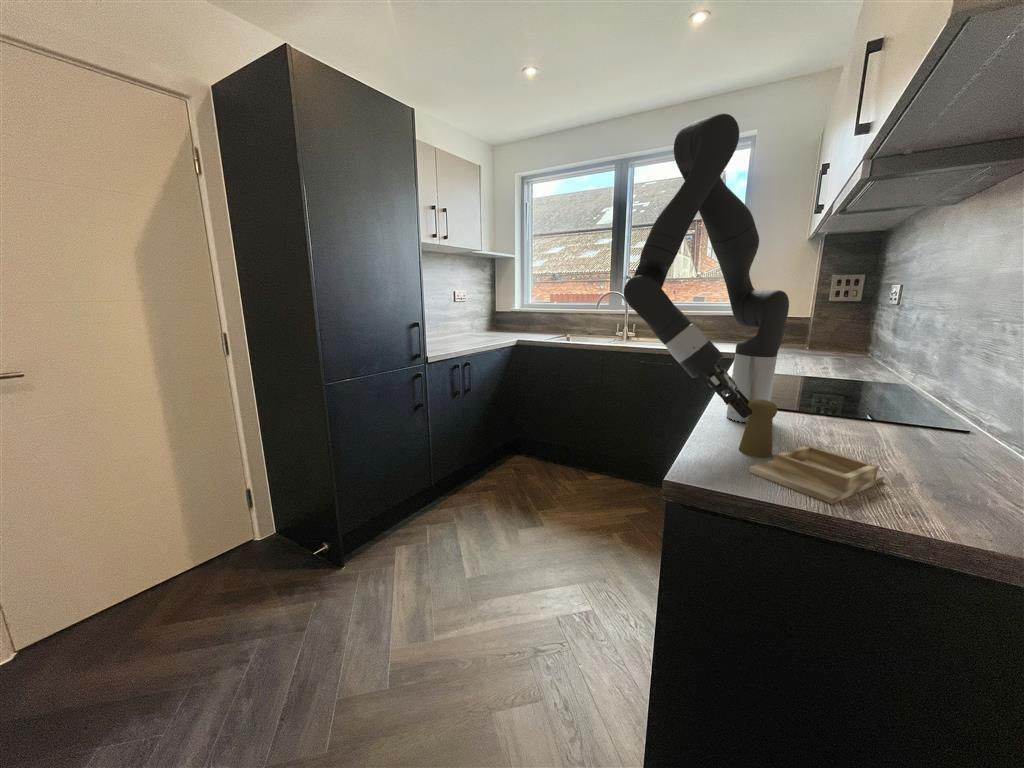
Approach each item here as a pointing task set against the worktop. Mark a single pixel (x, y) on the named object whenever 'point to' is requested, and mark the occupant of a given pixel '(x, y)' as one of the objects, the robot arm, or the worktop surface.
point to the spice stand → (819, 473)
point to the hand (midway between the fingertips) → (747, 410)
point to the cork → (759, 429)
